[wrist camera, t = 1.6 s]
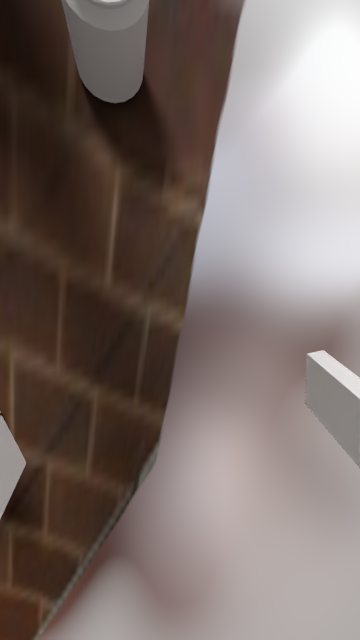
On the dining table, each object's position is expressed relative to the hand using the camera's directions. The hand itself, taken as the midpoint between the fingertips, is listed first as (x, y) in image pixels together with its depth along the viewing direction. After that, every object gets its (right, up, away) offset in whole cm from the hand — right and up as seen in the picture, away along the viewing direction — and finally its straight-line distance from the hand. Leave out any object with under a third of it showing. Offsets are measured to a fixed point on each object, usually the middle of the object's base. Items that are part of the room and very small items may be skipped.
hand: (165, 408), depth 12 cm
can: (-8, +33, +20) cm, 40 cm away
